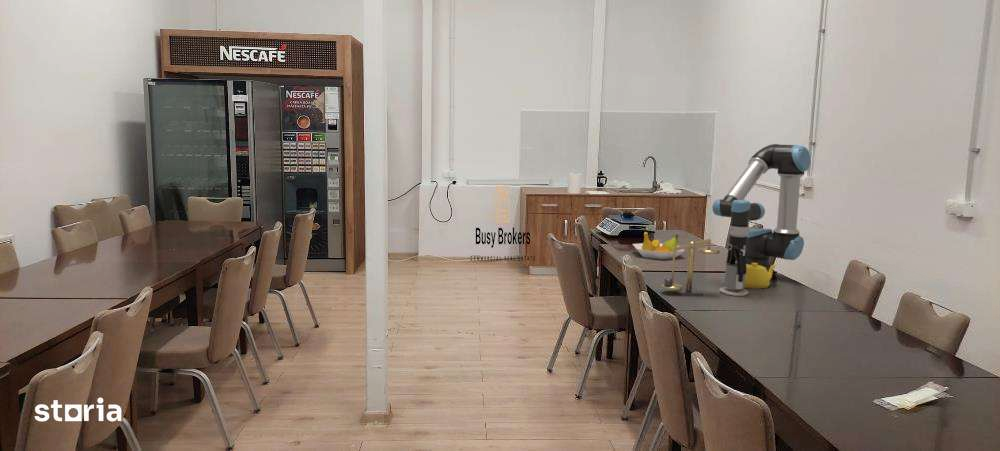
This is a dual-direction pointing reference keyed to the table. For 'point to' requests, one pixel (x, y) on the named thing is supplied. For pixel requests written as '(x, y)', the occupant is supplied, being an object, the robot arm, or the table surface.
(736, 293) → the dish
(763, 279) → the teapot
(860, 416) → the table surface
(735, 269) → the cup
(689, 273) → the balance
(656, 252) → the fruit
